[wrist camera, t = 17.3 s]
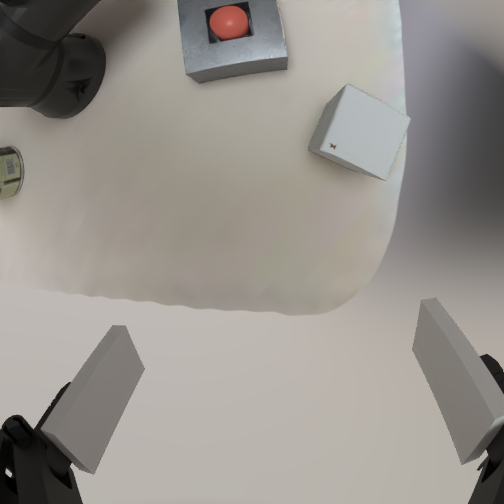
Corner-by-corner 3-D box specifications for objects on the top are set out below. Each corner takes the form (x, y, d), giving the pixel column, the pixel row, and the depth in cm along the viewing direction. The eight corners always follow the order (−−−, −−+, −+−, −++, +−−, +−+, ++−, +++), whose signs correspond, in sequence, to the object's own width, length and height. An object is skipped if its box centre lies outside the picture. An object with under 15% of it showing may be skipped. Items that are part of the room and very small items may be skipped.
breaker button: (220, 50, 32) (211, 38, 28) (216, 24, 31) (207, 10, 26) (253, 44, 32) (249, 31, 27) (248, 18, 30) (244, 3, 26)
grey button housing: (199, 83, 36) (185, 74, 30) (190, 14, 32) (177, -3, 26) (288, 69, 34) (289, 56, 28) (274, -2, 30) (272, -21, 24)
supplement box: (355, 173, 38) (386, 184, 26) (306, 149, 37) (316, 150, 26) (376, 125, 35) (413, 118, 23) (327, 101, 35) (346, 81, 23)
